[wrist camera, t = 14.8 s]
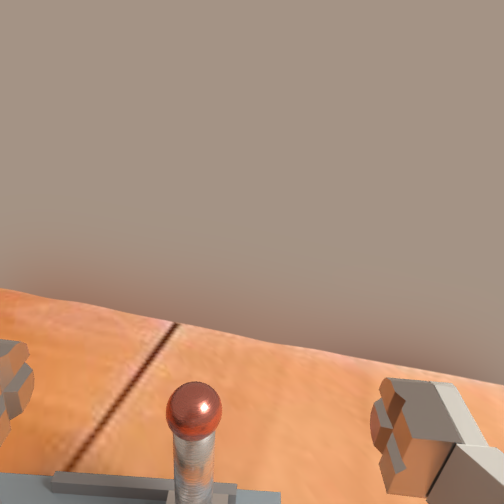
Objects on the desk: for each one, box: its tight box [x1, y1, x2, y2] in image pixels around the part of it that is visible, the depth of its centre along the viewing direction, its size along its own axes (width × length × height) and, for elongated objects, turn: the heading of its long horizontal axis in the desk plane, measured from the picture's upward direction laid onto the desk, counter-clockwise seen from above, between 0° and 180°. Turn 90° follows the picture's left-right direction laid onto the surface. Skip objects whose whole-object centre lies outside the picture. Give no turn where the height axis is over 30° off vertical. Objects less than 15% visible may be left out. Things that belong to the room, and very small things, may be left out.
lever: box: [166, 382, 228, 504], centre depth 27 cm, size 9×6×16 cm
